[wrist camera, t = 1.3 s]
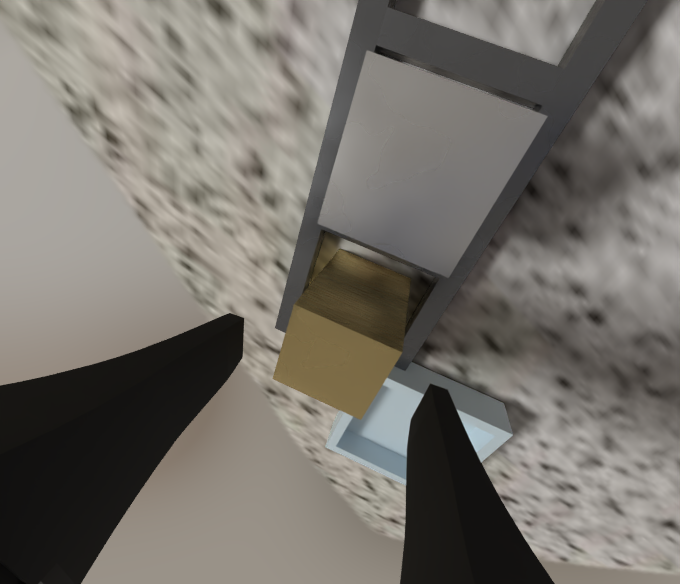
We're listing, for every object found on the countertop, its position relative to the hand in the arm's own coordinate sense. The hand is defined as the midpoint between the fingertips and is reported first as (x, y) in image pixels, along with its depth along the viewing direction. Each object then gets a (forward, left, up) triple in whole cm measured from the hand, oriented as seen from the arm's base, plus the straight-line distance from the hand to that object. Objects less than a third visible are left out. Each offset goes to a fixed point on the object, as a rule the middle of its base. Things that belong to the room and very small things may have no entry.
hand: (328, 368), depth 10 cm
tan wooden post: (0, 0, -6) cm, 6 cm away
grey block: (0, -7, -6) cm, 9 cm away
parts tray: (-6, +7, -6) cm, 11 cm away
